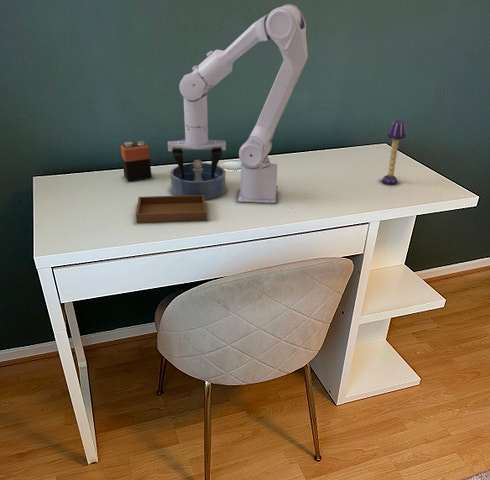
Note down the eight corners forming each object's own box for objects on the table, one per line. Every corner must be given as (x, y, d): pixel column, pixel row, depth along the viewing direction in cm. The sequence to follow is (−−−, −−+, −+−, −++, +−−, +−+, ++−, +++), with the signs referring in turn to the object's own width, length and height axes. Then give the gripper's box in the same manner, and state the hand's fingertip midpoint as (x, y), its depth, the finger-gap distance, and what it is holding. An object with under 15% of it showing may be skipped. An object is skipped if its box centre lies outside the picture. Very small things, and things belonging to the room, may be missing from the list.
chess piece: (202, 184, 136) (201, 155, 131) (210, 190, 133) (210, 160, 128) (186, 187, 134) (185, 158, 129) (194, 193, 130) (193, 164, 126)
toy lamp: (378, 183, 139) (388, 122, 130) (381, 177, 143) (391, 118, 134) (395, 186, 138) (407, 124, 129) (398, 180, 142) (409, 120, 132)
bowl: (227, 180, 139) (227, 163, 136) (222, 201, 127) (222, 183, 124) (176, 179, 140) (175, 161, 137) (167, 199, 128) (165, 181, 125)
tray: (204, 202, 127) (204, 194, 125) (206, 220, 118) (206, 212, 117) (139, 204, 125) (138, 196, 124) (136, 223, 116) (135, 214, 115)
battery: (124, 176, 140) (119, 141, 135) (147, 173, 143) (144, 138, 137) (127, 182, 137) (123, 146, 131) (152, 178, 140) (148, 143, 134)
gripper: (224, 119, 128) (224, 170, 135) (166, 120, 126) (170, 172, 134) (226, 127, 122) (226, 180, 130) (166, 128, 121) (170, 182, 128)
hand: (198, 177), depth 131 cm, fingers open, 7 cm apart
